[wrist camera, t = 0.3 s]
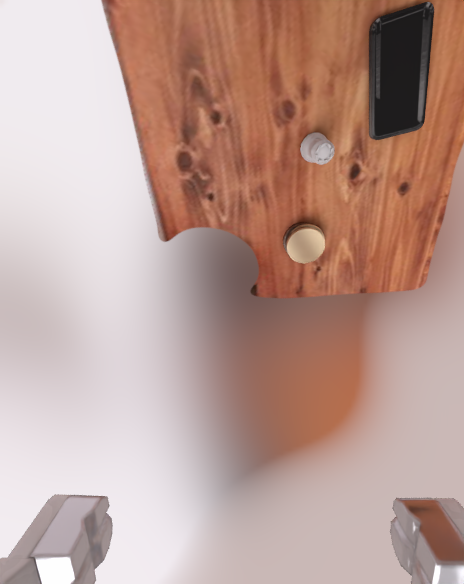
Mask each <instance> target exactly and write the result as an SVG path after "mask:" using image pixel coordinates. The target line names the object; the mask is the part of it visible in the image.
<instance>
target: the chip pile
mask: <svg viewBox="0 0 464 584" xmlns="http://www.w3.org/2000/svg"><path fill="white" fill-rule="evenodd" d="M283 245H284V248H285V250H286V252H287V253H288V255H289V257H290V258H291V259H293V260H294V261H296V262H298V263H310V262H312V261H314V260H316V259H317V258H319V257H320V255H321V254H322V253H323V251H324V248H325V237H324V234H323V232H322V231H321V229H320V228H319V227H317V226H315V225H313V224H309V223H297V224H295V225H293V226H291V227H290V228H289V229H288V230H287V231H286V233H285V234H284V237H283Z"/></svg>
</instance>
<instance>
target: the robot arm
mask: <svg viewBox="0 0 464 584" xmlns="http://www.w3.org/2000/svg"><path fill="white" fill-rule="evenodd" d="M108 508H109V502H108V497H105V496H85V495H54V496H52V497H51V498H50V499H49V500H48V501H47V502H46V504H45V505H44V507H43V508H42V509H41V511H40V512H39V514H38V515H37V516H36V518H35V519H34V521H33V522H32V524H31V525H30V527H29V528H28V529H27V531H26V532H25V534H24V535H23V536H22V538H21V539H20V541H19V542H18V543H17V545H16V546H15V548H14V549H13V550H12V552H11V553H10V555H9V556H8V558H1V559H0V584H94V583H95V581H96V577H95V568H97V567H98V566H99V564H100V563H102V562H103V560H104V559H105V556H106V554H107V551H108V549H109V546H110V541H111V537H112V519H111V517H110V516H109V515H108V514H107V513H106V512H107V510H108ZM393 510H394V512H395V514H396V517H395V518H394V519H393V520H392V521H391V529H390V533H391V539H392V544H393V547H394V550H395V553H396V556H397V558H398V560H399V563H400V565H401V566H402V567H403V568H404V569H405V570H406V571H407V572H408V573H409V574H410V575H411V576H412V581H411V584H464V508H463V507H462V506H461V504H460V503H459V502H457V501H456V500H455V499H453V498H452V499H450V498H448V499H447V498H434V499H433V498H396V499H395V500H394V503H393Z"/></svg>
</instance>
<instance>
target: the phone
mask: <svg viewBox="0 0 464 584" xmlns="http://www.w3.org/2000/svg"><path fill="white" fill-rule="evenodd" d="M433 17H434V7H433V4H432V3H430V2H425V3H422V4H419V5H416V6H413V7H409V8H406V9H403V10H400V11H397V12H394V13H391V14H388V15H385V16H381V17H379V18H378V19H376V20H375V21H374V22H373V23H372V25H371V27H370V31H369V135H370V137H371V138H372V139H375V140H380V139H384V138H388V137H392V136H396V135H400V134H404V133H408V132H411V131H415V130H418V129H419V128H421V127H422V125H423V124H424V120H425V109H426V98H427V86H428V75H429V63H430V52H431V40H432V29H433Z"/></svg>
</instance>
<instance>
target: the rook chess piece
mask: <svg viewBox="0 0 464 584" xmlns="http://www.w3.org/2000/svg"><path fill="white" fill-rule="evenodd" d="M334 151H335V150H334V145H333V144H332V142H330V141H328V140H327V138H326V137H325V136H324V135H323V134H321V133H311V134H309V135H308V136H307V137H306V138H304V140H303V142H302V144H301V155H302V157H303V158H304V159H305V160H306V161H308V162H315V163H317V164H325V163H328V162H329V161H330V160H331V159H332V157H333V155H334Z"/></svg>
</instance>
